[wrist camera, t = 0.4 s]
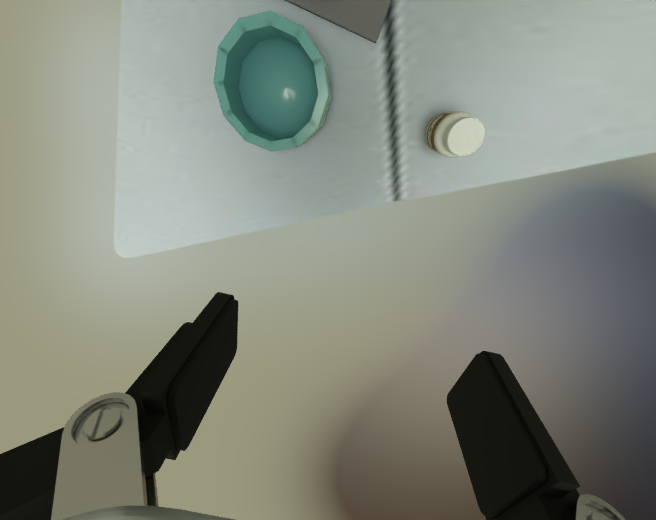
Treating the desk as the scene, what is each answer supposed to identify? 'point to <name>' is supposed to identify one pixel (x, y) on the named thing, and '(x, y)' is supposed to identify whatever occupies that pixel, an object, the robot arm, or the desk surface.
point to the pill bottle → (454, 134)
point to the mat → (350, 14)
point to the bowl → (272, 81)
